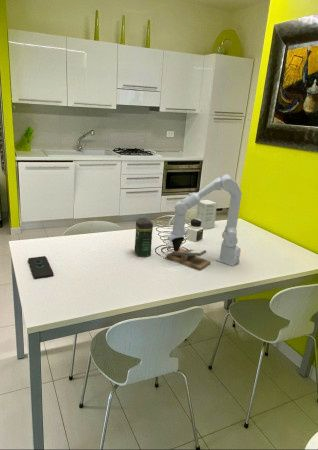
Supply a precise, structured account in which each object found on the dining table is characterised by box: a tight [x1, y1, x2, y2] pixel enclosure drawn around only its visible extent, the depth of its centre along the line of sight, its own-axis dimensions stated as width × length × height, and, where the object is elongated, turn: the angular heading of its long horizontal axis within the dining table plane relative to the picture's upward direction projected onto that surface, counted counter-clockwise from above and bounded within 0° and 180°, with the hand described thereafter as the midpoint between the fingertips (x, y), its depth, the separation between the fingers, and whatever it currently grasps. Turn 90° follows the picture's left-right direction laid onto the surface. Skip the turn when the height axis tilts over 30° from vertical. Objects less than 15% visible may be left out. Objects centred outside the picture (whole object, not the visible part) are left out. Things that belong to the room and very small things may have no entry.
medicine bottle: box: [186, 218, 204, 243], centre depth 200 cm, size 7×7×12 cm
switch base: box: [165, 252, 211, 271], centre depth 171 cm, size 20×10×5 cm, turn 53°
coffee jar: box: [134, 217, 154, 258], centre depth 174 cm, size 10×8×19 cm
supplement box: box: [195, 199, 218, 230], centre depth 222 cm, size 10×9×17 cm
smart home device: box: [27, 255, 54, 280], centre depth 154 cm, size 8×2×20 cm
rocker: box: [170, 249, 207, 257], centre depth 170 cm, size 17×6×2 cm, turn 53°
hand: (176, 250), depth 175 cm, fingers closed, pressing on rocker
